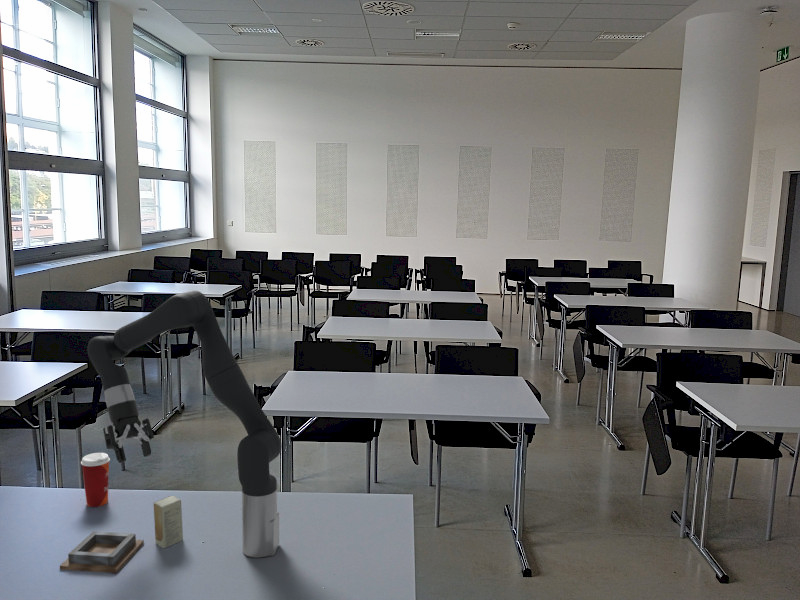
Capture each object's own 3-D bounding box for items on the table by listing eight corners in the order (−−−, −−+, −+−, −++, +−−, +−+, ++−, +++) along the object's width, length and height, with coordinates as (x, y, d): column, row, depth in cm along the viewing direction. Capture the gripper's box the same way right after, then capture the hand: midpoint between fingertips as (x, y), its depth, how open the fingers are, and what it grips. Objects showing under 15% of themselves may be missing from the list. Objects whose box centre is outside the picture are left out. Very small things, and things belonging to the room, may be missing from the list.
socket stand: (143, 543, 184) (143, 531, 183) (116, 573, 169) (116, 560, 168) (91, 540, 185) (90, 528, 184) (59, 569, 170) (59, 556, 169)
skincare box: (174, 535, 188) (173, 494, 187) (183, 540, 186) (182, 498, 184) (154, 544, 183) (152, 501, 182) (162, 549, 181) (161, 506, 179)
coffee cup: (116, 502, 208) (114, 456, 206) (89, 511, 202) (87, 464, 200) (104, 494, 213) (102, 449, 211) (78, 502, 207) (75, 456, 205)
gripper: (108, 402, 181) (123, 460, 178) (150, 396, 193) (164, 450, 190) (90, 410, 184) (105, 468, 181) (133, 403, 196) (146, 457, 194)
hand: (135, 458), depth 186 cm, fingers open, 8 cm apart
